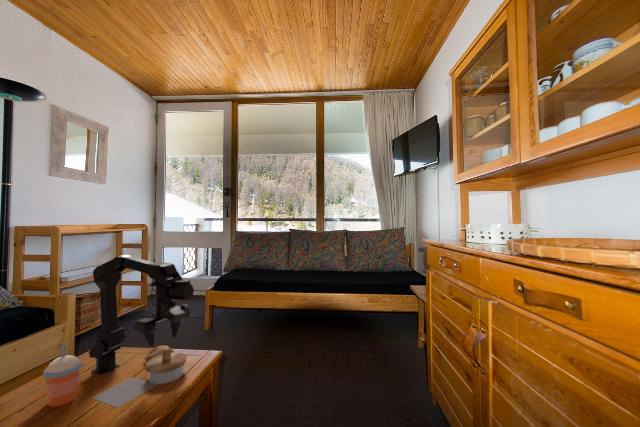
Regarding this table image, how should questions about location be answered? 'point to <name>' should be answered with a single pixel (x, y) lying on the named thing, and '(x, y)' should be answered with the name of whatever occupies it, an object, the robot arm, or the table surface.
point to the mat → (124, 392)
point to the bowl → (165, 376)
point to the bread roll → (155, 352)
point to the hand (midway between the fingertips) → (163, 341)
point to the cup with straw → (62, 378)
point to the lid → (166, 361)
